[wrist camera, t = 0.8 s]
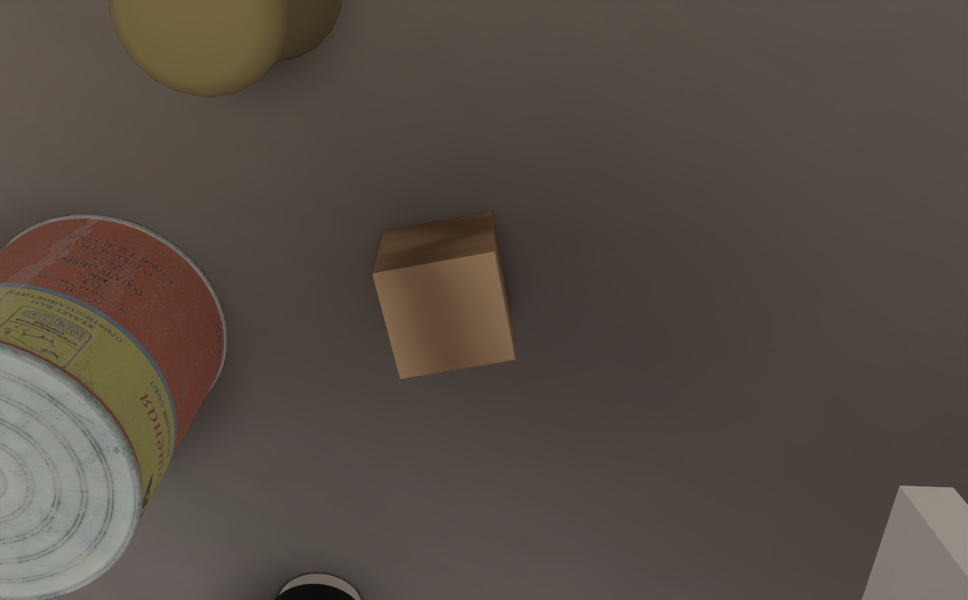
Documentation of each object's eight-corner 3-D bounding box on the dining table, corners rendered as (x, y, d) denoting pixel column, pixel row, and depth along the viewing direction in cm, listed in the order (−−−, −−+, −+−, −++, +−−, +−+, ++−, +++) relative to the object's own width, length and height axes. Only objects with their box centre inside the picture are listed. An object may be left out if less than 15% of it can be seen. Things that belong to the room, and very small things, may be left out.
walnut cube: (491, 210, 38) (494, 251, 34) (510, 308, 41) (515, 359, 36) (383, 230, 39) (372, 273, 34) (407, 326, 41) (400, 379, 36)
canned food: (83, 458, 44) (-45, 641, 33) (-67, 276, 39) (-272, 418, 28) (272, 372, 42) (202, 537, 31) (135, 172, 37) (-1, 281, 26)
